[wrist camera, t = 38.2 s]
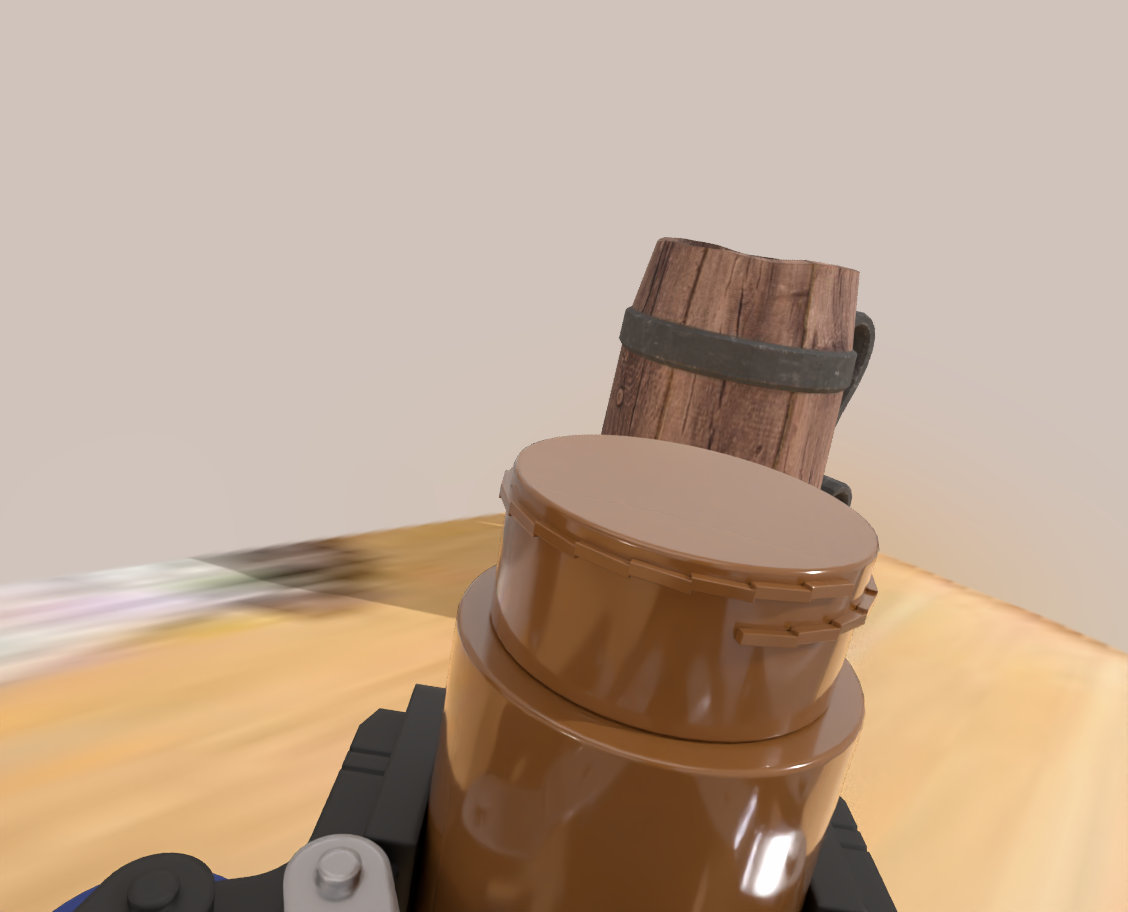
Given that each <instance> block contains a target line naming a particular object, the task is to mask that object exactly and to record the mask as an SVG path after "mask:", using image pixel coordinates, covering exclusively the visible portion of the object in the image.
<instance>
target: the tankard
mask: <svg viewBox="0 0 1128 912" xmlns="http://www.w3.org/2000/svg"><path fill="white" fill-rule="evenodd" d="M859 273H860V272H859V271H857V270H853V269H850V268H845V267H841V266H837V265H830V264H825V263H820V262H814V261H807V260H779V259H774V258H767V257H759V256H753V255H747V254H743V253H740V252H736V251H733V250H730V249H728V248H724V247H722V246H719V245H715V244H710V243H705V242H698V241H693V240H688V239H682V238H669V237H664V238H661V239H659V240H658V241H657V244H656V246H655V249H654V251H653V254H652V257H651V259H650V262H649V264H648V267H647V269H646V272H645V274H644V277H643V280H642V282H641V285H640V287H639V290H638V293H637V295H636V298H635V300H634V303H633V305H632V306H631V307H629V308H627V309H626V311H625V315H624V320H623V324H622V329H621V332H620V337H619V339H620V341H621V343H622V347H621V351H620V356H619V360H618V364H617V368H616V373H615V377H614V381H613V386H612V390H611V394H610V398H609V403H608V407H607V411H606V416H605V420H604V424H603V428H602V433H601V435H618V436H630V437H640V438H648V439H655V440H661V441H668V442H674V443H679V444H684V445H689V446H694V447H698V448H703V449H707V450H711V451H715V452H719V453H723V454H727V455H730V456H734V457H737V458H741V459H744V460H747V461H751V462H754V463H757V464H760V465H763V466H766V467H768V468H771V469H774V470H777V471H779V472H782V473H785V474H787V475H789V476H792V477H794V478H797V479H799V480H801V481H804V482H806V483H808V484H810V485H812V486H814V487H816V488H818V489H820V490H822V491H824V492H826V493H828V494H830V495H831V496H833V497H835V498H836V499H838V500H840V501H841V502H843V503H845V504H846V505H847V506H849V507H850V504H851V500H852V493H851V489H850V487H849V486H848V485H847V484H845V483H842V482H840V481H838V480H835V479H833V478H830V477H828V476H825V475H824V472H825V467H826V463H827V459H828V455H829V451H830V446H831V442H832V438H833V434H834V429H835V427H836V425H837V423H838V421H839V419H840V416H841V415H842V413H843V411H844V409H845V407H846V406H847V404H848V402H849V401H850V399H851V397H852V395H853V394H854V392H855V390H856V388H857V387H858V385H859V383H860V381H861V379H862V376H863V374H864V372H865V370H866V368H867V365H868V362H869V359H870V356H871V354H872V351H873V346H874V340H875V328H874V325H873V322H872V320H871V319H870V318H869V317H868V316H867V315H866V314H865V313H862V312H858V311H856V305H857V294H858V283H859Z"/></svg>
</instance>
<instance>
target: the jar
mask: <svg viewBox="0 0 1128 912" xmlns="http://www.w3.org/2000/svg"><path fill="white" fill-rule="evenodd" d="M499 498H502V501H503V503H504V506H505V509H506V514H505V520H504V526H503V532H502V538H501V544H500V550H499V556H498V562H497V564H496V565H495V566H493V567H491V568H489V569H488V570H486V571H484V572H483V573H482V574H481V575H480V576H478V577H477V578H476V579H475V580H474V581H473V582H472V583H471V585H470V586H469V587H468V588H467V590H466V591H465V593H464V595H463V597H462V599H461V601H460V603H459V606H458V612H457V618H456V624H455V631H454V637H453V644H452V651H451V657H450V664H449V670H448V677H447V683H446V690H445V696H444V703H443V709H442V716H441V722H440V729H439V735H438V742H437V748H436V755H435V761H434V768H433V774H432V781H431V787H430V794H429V800H428V807H427V813H426V820H425V826H424V833H423V839H422V846H421V852H420V859H419V865H418V872H417V879H416V885H415V892H414V898H413V905H412V911H411V912H801V909H802V906H803V903H804V900H805V897H806V894H807V891H808V888H809V885H810V882H811V879H812V876H813V873H814V870H815V867H816V864H817V861H818V858H819V855H820V852H821V849H822V846H823V843H824V840H825V837H826V834H827V831H828V828H829V825H830V823H831V820H832V817H833V814H834V811H835V808H836V805H837V802H838V799H839V796H840V793H841V790H842V787H843V784H844V781H845V778H846V775H847V772H848V769H849V766H850V763H851V760H852V757H853V754H854V751H855V748H856V745H857V742H858V739H859V736H860V733H861V731H862V727H863V723H864V718H865V700H864V694H863V691H862V688H861V684H860V681H859V679H858V677H857V675H856V673H855V672H854V670H853V668H852V666H851V665H850V663H849V662H848V661H847V659H846V658H845V656H846V653H847V649H848V646H849V643H850V640H851V637H852V634H853V631H854V629H855V628H857V627H859V626H861V625H863V624H864V623H865V620H866V618H867V616H868V614H869V612H870V611H871V609H872V607H873V605H874V602H875V599H876V596H877V593H878V590H877V587H876V584H875V582H874V579H873V576H872V571H873V568H874V565H875V562H876V559H877V556H878V552H879V544H878V537H877V535H876V533H875V531H874V529H873V528H872V527H871V526H870V524H869V523H868V522H867V521H866V520H865V519H864V518H863V517H862V516H861V515H859V514H858V513H857V512H856V511H854V510H853V509H852V508H850V507H849V506H847V505H846V504H845V503H843V502H841V501H840V500H838V499H836V498H835V497H833V496H831V495H830V494H828V493H826V492H824V491H822V490H820V489H818V488H816V487H814V486H812V485H810V484H808V483H806V482H804V481H801V480H799V479H797V478H794V477H792V476H789V475H787V474H785V473H782V472H779V471H777V470H774V469H771V468H768V467H766V466H763V465H760V464H757V463H754V462H751V461H747V460H744V459H741V458H737V457H734V456H730V455H727V454H723V453H719V452H715V451H711V450H707V449H703V448H698V447H694V446H689V445H684V444H679V443H674V442H668V441H661V440H655V439H648V438H640V437H630V436H618V435H572V436H564V437H556V438H551V439H546V440H542V441H539V442H536V443H533V444H532V445H530V446H528V447H526V448H525V449H524V450H522V452H520V453H519V455H518V456H517V458H516V460H515V462H514V467H513V468H511V469H510V470H506V471H505V474H504V478H503V481H502V484H501V488H500V494H499Z"/></svg>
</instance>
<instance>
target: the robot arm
mask: <svg viewBox="0 0 1128 912" xmlns="http://www.w3.org/2000/svg"><path fill="white" fill-rule="evenodd" d="M445 690H446V688H439V687H433V686H427V685H421V684H416V685H415V688H414V690H413V693H412V696H411V699H410V702H409V705H408V707H407V710H406V712H399V711H393V710H387V709H381V708H380V709H378V710H377V711H376V712H375V713H374V714H372V715H371V716H370V717H369V718H368V719H366V720H365V721H364V722H363V723H362V724H360V725H359V728H358V730H357V732H356V735H355V737H354V739H353V741H352V744H351V746H350V750H349V751H348V753H347V755H346V758H345V760H344V762H343V764H342V769H340V771H339V774H338V776H337V778H336V781H335V783H334V785H333V787H332V790H331V792H330V794H329V797H328V799H327V801H326V804H325V806H324V808H323V810H322V813H321V815H320V817H319V820H318V822H317V824H316V826H315V829H314V831H313V833H312V836H311V838H310V839H309V841H308V843H307V844H306V845H305V846H303V847H302V848H301V849H300V850H298V851H297V852H296V853H295V854H294V856H293V857H292V858H291V859H290V861H289V862H288V863H286V864H284V865H282V866H281V867H279V868H277V869H274V870H272V871H269V872H267V873H263V874H260V875H256V876H250V877H244V878H236V879H228V880H220V881H215V879H214V876H213V874H212V872H211V870H210V868H209V867H208V866H207V865H206V864H205V863H203V862H202V861H201V860H199V859H197V858H195V857H193V856H190V855H186V854H180V853H161V854H154V855H150V856H146V857H142V858H140V859H137V860H135V861H132V862H130V863H128V864H126V865H124V866H123V867H121V868H120V869H118V870H117V871H115V872H114V873H112V874H111V875H110V876H109V877H108V878H107V879H105V880H104V881H103V882H102V883H101V884H100V885H99V886H98V887H97V888H96V889H95V890H94V891H93V892H92V893H91V894H90V895H89V896H88V897H87V898H86V899H85V900H84V901H83V902H82V903H81V904H80V905H79V906H78V907H77V908H76V909H75V910H74V911H73V912H411V911H412V905H413V898H414V892H415V885H416V879H417V872H418V865H419V859H420V852H421V846H422V839H423V833H424V826H425V820H426V813H427V807H428V800H429V794H430V787H431V781H432V774H433V768H434V761H435V755H436V748H437V742H438V735H439V729H440V722H441V716H442V709H443V703H444V696H445ZM801 912H897V910H896V908H895V906H894V903H893V901H892V899H891V897H890V895H889V893H888V891H887V889H886V886H885V884H884V882H883V880H882V878H881V876H880V874H879V872H878V870H877V867H876V865H875V863H874V861H873V859H872V857H871V855H870V853H869V852H867V846H866V844H865V842H864V840H863V838H862V836H861V833H860V832H859V831H857V825H856V823H855V821H854V819H853V816H852V814H851V812H850V810H849V808H848V806H847V804H846V802H845V801H844V800H843V799H842V798H841V797H840V796H839V799H838V802H837V805H836V808H835V811H834V814H833V817H832V820H831V823H830V825H829V828H828V831H827V834H826V837H825V840H824V843H823V846H822V849H821V852H820V855H819V858H818V861H817V864H816V867H815V870H814V873H813V876H812V879H811V882H810V885H809V888H808V891H807V894H806V897H805V900H804V903H803V906H802V909H801Z"/></svg>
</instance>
